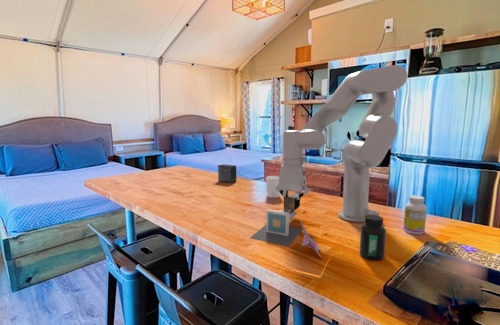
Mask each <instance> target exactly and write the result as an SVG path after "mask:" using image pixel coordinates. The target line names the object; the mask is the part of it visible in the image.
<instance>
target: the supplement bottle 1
mask: <svg viewBox="0 0 500 325" xmlns="http://www.w3.org/2000/svg"><path fill="white" fill-rule="evenodd" d="M386 239H387V229H386V228H385V227H384V218H383V217H382V216H380V215H379V216H377V215H366V216H365V222H364V223H363V224H362V225H361V227H360V237H359V255H360V256H361V257H362V258H363V259H365V258H366V259H365V260H368V259H369V260H368V261H372V260H375V261H374V262H379V261H378V260H380V261H382V260H383V259H384V258H385V251H386Z"/></svg>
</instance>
